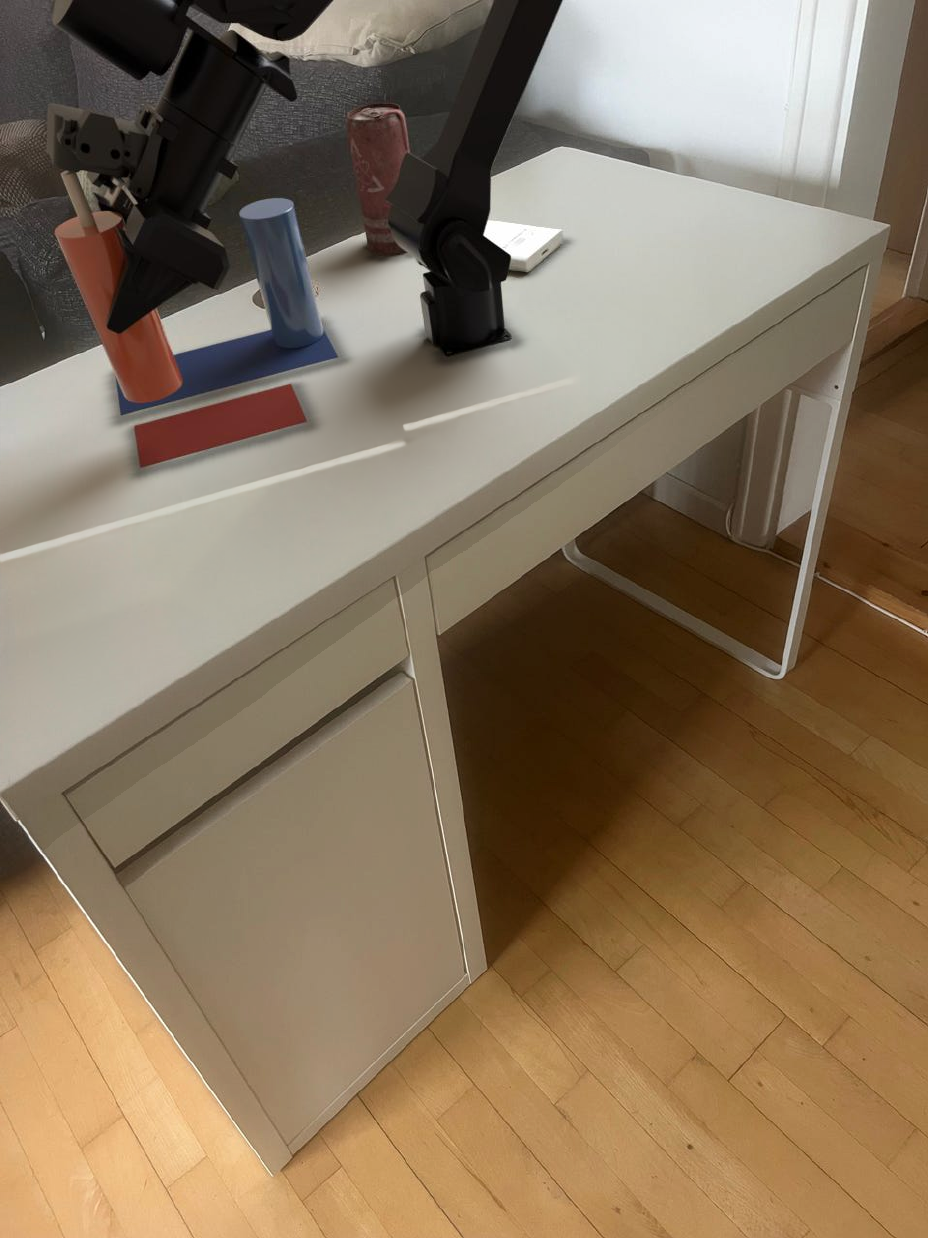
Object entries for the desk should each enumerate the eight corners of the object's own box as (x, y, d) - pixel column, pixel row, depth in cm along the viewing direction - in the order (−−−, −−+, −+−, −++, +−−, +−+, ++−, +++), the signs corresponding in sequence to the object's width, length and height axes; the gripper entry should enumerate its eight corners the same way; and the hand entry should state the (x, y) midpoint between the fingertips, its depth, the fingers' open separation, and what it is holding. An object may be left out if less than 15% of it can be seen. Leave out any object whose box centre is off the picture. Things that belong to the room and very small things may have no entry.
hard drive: (465, 229, 102) (563, 242, 97) (426, 259, 98) (526, 274, 92) (464, 215, 101) (563, 226, 96) (424, 244, 96) (525, 258, 91)
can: (418, 258, 98) (397, 117, 88) (362, 260, 99) (336, 121, 89) (430, 235, 102) (412, 98, 92) (377, 237, 103) (353, 102, 94)
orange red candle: (167, 365, 75) (88, 154, 64) (192, 385, 72) (114, 167, 61) (114, 388, 73) (22, 175, 62) (138, 409, 71) (46, 190, 59)
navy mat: (318, 322, 89) (317, 317, 89) (339, 361, 83) (338, 356, 83) (116, 374, 86) (114, 369, 86) (122, 419, 80) (120, 414, 80)
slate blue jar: (317, 320, 89) (287, 193, 80) (328, 340, 85) (298, 210, 77) (270, 332, 88) (235, 205, 80) (279, 353, 85) (243, 223, 76)
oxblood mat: (292, 388, 81) (290, 383, 80) (308, 425, 76) (307, 420, 75) (136, 430, 78) (134, 425, 78) (142, 472, 73) (140, 467, 73)
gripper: (63, 25, 64) (-20, 226, 69) (113, 73, 52) (8, 314, 56) (204, 119, 72) (120, 294, 76) (278, 180, 59) (172, 385, 64)
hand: (106, 317), depth 68 cm, fingers closed on orange red candle, 5 cm apart
